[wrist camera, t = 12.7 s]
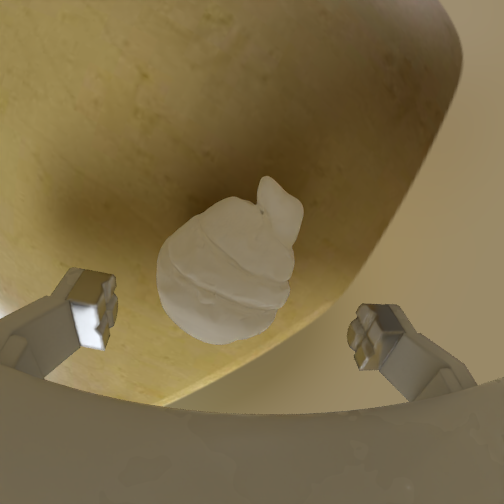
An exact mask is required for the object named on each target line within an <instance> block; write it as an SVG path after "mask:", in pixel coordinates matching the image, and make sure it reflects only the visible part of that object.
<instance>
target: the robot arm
mask: <svg viewBox="0 0 504 504" xmlns="http://www.w3.org/2000/svg"><path fill="white" fill-rule="evenodd" d="M115 288H116V277H115V276H114V275H113V274H108V273H103V272H97V271H92V270H87V269H86V270H85V269H81V268H76V267H72V268H70V269H69V270H68V271H67V273H66V274H65V275H64V277H63V278H62V280H61V281H60V283H59V284H58V285H57V287H56V288H55V290H54V291H53V293H52V294H51V296H44V297H42V298H40V299H38V300H36V301H34V302H32V303H30V304H28V305H26V306H24V307H22V308H20V309H19V310H17V311H15V312H13V313H11V314H9V315H7V316H5V317H3V318H1V319H0V504H504V377H502V378H499V379H497V380H493V381H490V382H487V383H484V384H481V385H477V383H476V382H475V380H474V379H473V377H472V375H471V374H470V372H469V370H468V369H467V367H466V366H465V364H464V363H462V362H461V361H459V360H458V359H457V358H455V357H454V356H452V355H451V354H450V353H448V352H447V351H445V350H444V349H442V348H441V347H440V346H438V345H436V344H435V343H434V342H432V341H431V340H430V339H428V338H427V337H425V336H424V335H422V334H421V333H417V332H416V330H415V329H414V327H413V326H412V324H411V323H410V321H409V320H408V318H407V317H406V315H405V314H404V312H403V311H402V309H401V308H400V306H398V305H394V304H385V305H381V304H364V303H363V304H361V305H360V306H359V307H358V309H357V311H356V314H357V318H356V319H354V320H353V321H352V322H351V323H350V326H349V328H348V332H347V340H348V344H349V346H350V348H351V349H353V350H354V351H355V354H354V358H355V361H356V363H357V366H358V368H359V370H379V372H380V373H381V374H382V375H383V376H385V378H386V379H387V380H388V381H389V382H390V383H391V384H392V385H393V386H394V387H395V388H396V389H397V390H398V391H399V392H400V393H401V394H402V395H403V396H404V397H405V398H406V399H407V400H408V401H409V402H407V403H401V404H395V405H389V406H382V407H375V408H368V409H359V410H351V411H341V412H328V413H313V414H264V415H263V414H234V413H233V414H232V413H218V412H204V411H194V410H184V409H177V408H169V407H162V406H155V405H149V404H143V403H137V402H131V401H126V400H121V399H116V398H112V397H107V396H103V395H98V394H94V393H90V392H86V391H82V390H78V389H75V388H71V387H67V386H64V385H61V384H57V383H54V382H51V381H48V380H45V379H44V377H45V376H46V375H48V374H49V373H50V372H51V371H52V370H54V369H55V368H56V367H57V366H58V365H60V364H61V363H62V362H63V361H64V360H66V359H67V358H68V357H69V356H70V355H72V354H73V353H74V352H75V351H76V350H78V349H79V348H80V346H83V347H88V348H93V349H98V350H104V351H105V348H106V346H107V343H108V340H109V337H110V331H109V328H111V327H112V326H114V324H115V321H116V317H117V312H118V298H117V296H116V295H115V294H114V291H115Z"/></svg>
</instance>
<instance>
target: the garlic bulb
mask: <svg viewBox="0 0 504 504" xmlns="http://www.w3.org/2000/svg"><path fill="white" fill-rule="evenodd" d="M303 214H304V210H303V206H302V204H301V202H300V201H299V200H298V199H297V198H295V197H293V196H291V195H290V194H288V193H287V192H286V191H285V190H284V189H283V188H282V187H281V186H280V185H279V184H278V183H277V182H276V181H275V180H274V179H272V178H271V177H269V176H265V177H262V178H261V180H260V183H259V186H258V190H257V204H256V205H255V204H253V203H252V202H250V201H247V200H242V199H240V198H238V197H228V198H225V199H223V200H221V201H219V202H217V203H215V204H214V205H213V206H211V207H209V208H208V209H207V210H206V211H205V212H203V213H201V214H198V215H196V216H194V217H192V218H191V219H190V220H189V221H188V222H186V223H185V224H184V225H183V226H182V227H180V228H179V229H178V230H176V231H175V232H174V233H173V234H172V235H171V236H169V237H168V238H167V239H166V241H165V242H164V244H163V245H162V247H161V249H160V252H159V255H158V260H157V273H156V280H157V288H158V293H159V296H160V301H161V304H162V307H163V309H164V310H165V312H166V313H167V315H168V316H169V317H170V318H171V319H172V321H174V323H175V324H177V325H178V326H179V327H180V328H181V329H182V330H184V331H185V332H186V333H188V334H189V335H191V336H193V337H194V338H196V339H199V340H201V341H203V342H206V343H211V344H216V345H221V344H222V345H223V344H228V343H231V342H234V341H236V340H241V339H247V338H250V337H253V336H255V335H258V334H260V333H262V332H263V331H265V330H266V329H267V328H268V327H269V326H270V325H271V323H272V322H273V321H274V319H275V316H276V312H277V310H278V309H279V308H281V307H282V306H283V305H284V304H285V302H286V301H287V298H288V296H289V293H290V287H289V282H288V280H289V279H290V278H291V275H292V272H293V268H294V263H295V260H294V252H293V250H292V245H293V244H294V242H295V241H296V239H297V236H298V233H299V230H300V226H301V222H302V219H303Z"/></svg>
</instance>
